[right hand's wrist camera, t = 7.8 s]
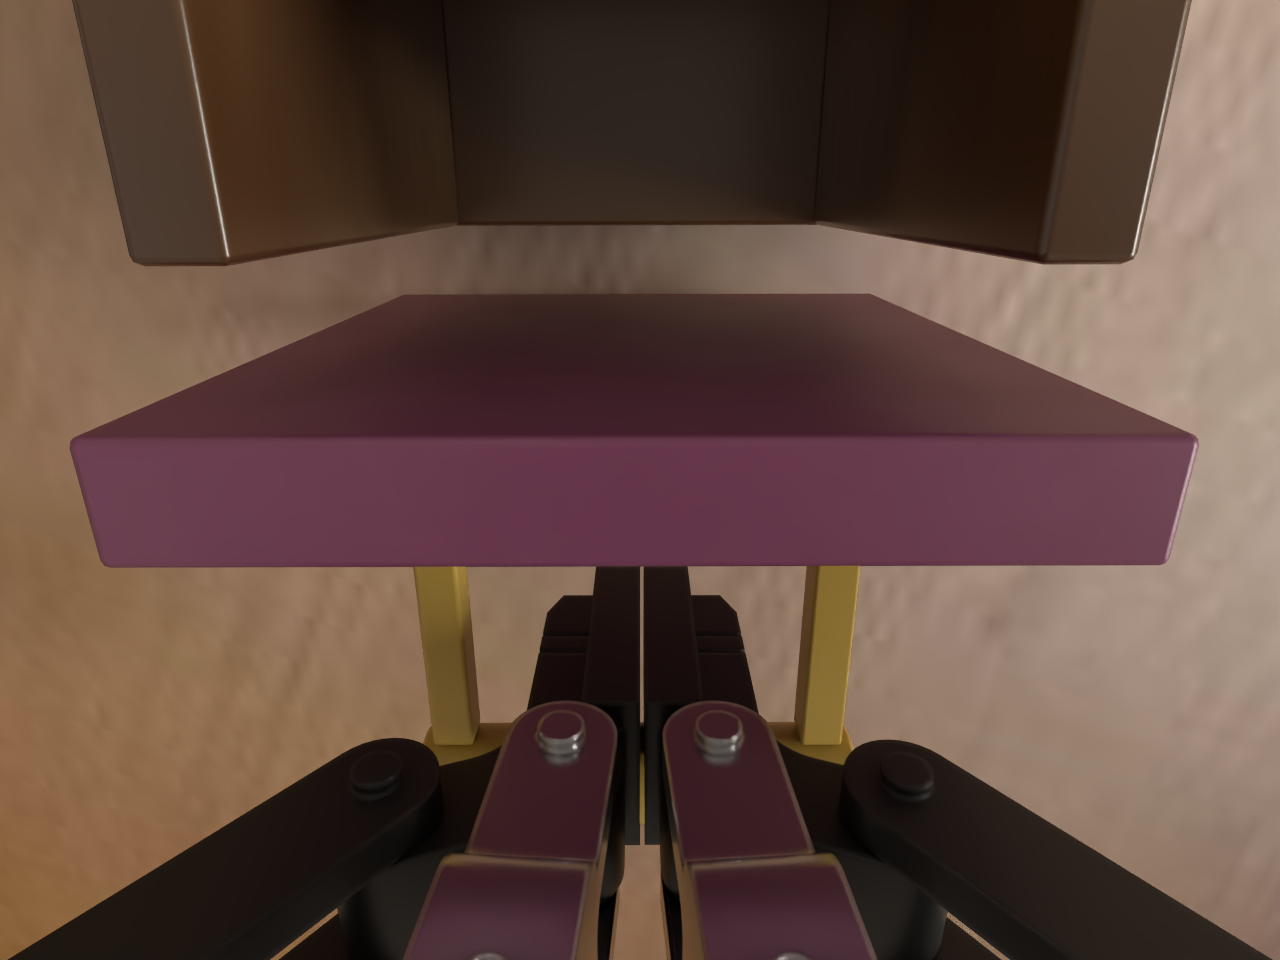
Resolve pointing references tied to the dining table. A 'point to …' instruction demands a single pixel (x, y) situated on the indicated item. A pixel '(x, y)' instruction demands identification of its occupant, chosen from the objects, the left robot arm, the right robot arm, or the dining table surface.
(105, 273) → the dining table surface
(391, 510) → the drawer
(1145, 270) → the dining table surface
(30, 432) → the dining table surface
